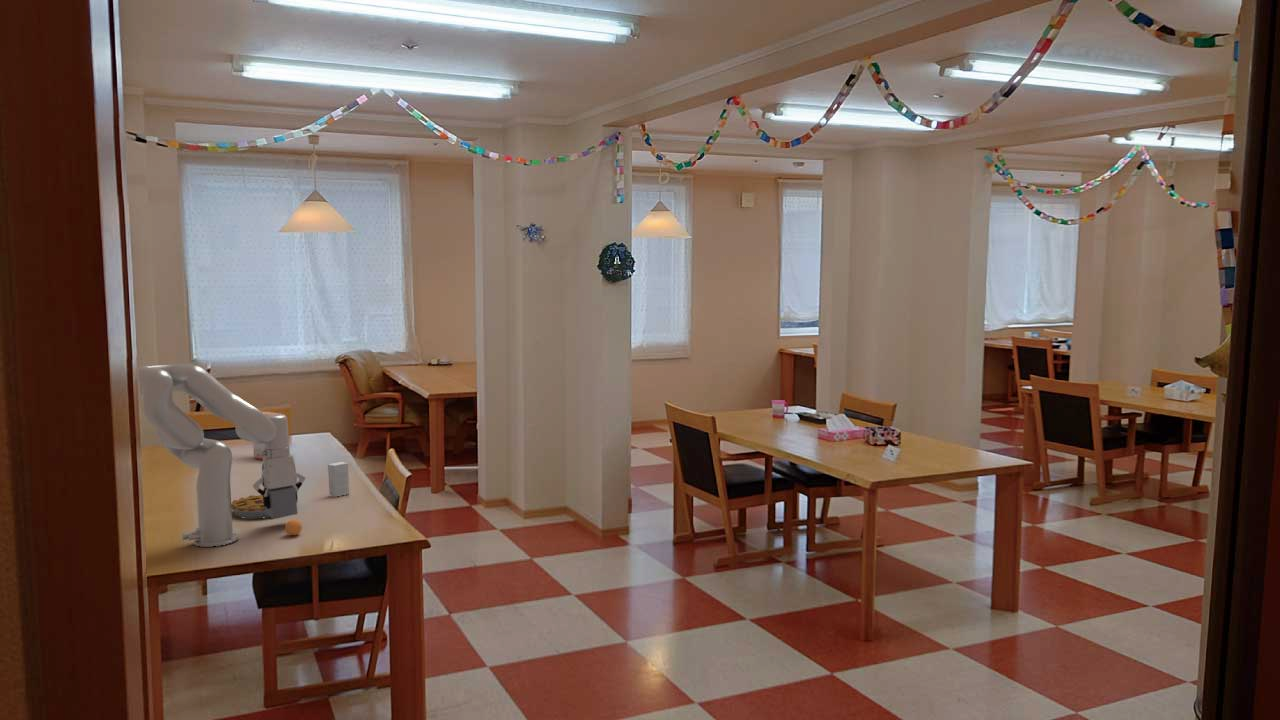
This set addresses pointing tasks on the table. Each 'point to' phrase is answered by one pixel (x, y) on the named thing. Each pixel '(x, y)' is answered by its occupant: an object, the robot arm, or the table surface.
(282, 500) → the rounded grey cube
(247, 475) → the table surface
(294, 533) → the ball
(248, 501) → the pie
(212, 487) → the robot arm
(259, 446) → the cracker box
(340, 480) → the skincare box
